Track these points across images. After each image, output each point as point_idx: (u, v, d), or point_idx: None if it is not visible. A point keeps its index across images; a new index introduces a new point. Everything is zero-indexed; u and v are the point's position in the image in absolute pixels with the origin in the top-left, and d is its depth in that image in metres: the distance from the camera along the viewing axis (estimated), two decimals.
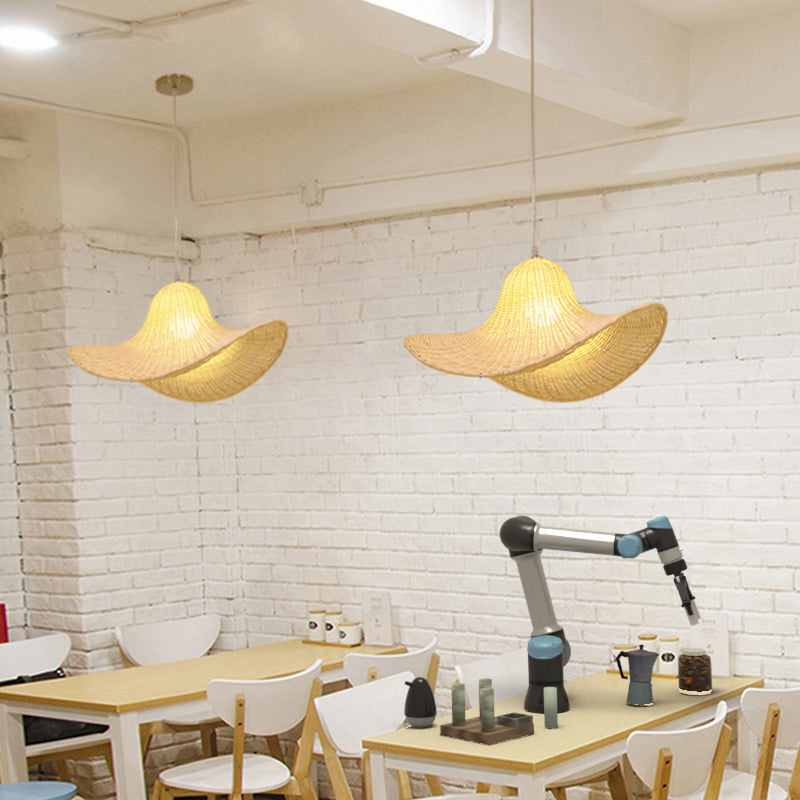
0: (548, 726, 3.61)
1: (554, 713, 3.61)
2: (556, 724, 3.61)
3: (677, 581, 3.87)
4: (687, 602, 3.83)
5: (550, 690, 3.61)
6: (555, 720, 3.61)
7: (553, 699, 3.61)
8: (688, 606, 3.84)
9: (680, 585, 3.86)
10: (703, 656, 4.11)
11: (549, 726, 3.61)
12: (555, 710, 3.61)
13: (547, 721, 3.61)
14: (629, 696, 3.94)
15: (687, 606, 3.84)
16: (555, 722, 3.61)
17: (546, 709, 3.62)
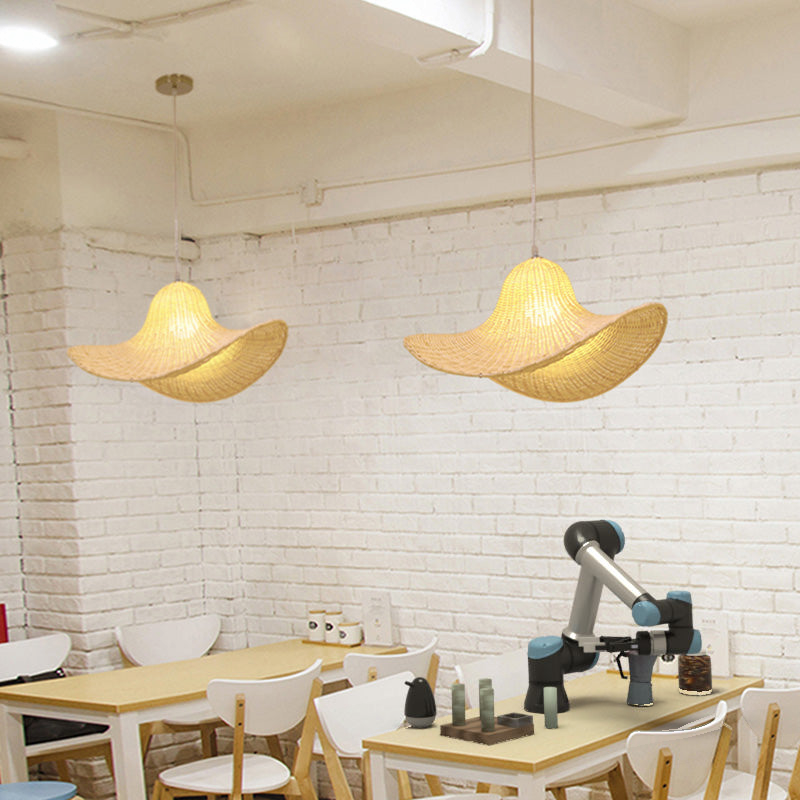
0: (548, 726, 3.61)
1: (554, 713, 3.61)
2: (556, 724, 3.61)
3: (633, 645, 3.57)
4: (611, 650, 3.54)
5: (550, 690, 3.61)
6: (555, 720, 3.61)
7: (553, 699, 3.61)
8: (605, 648, 3.55)
9: (628, 647, 3.56)
10: (703, 656, 4.11)
11: (549, 726, 3.61)
12: (555, 710, 3.61)
13: (547, 721, 3.61)
14: (629, 696, 3.94)
15: (605, 647, 3.55)
16: (555, 722, 3.61)
17: (546, 709, 3.62)
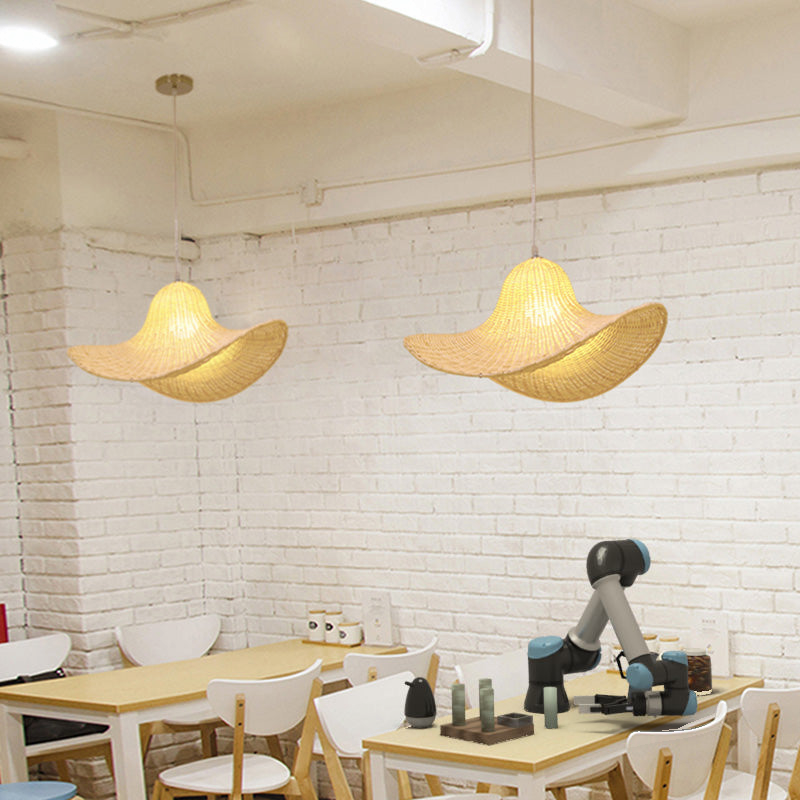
0: (548, 726, 3.61)
1: (554, 713, 3.61)
2: (556, 724, 3.61)
3: (628, 707, 3.55)
4: (606, 712, 3.52)
5: (550, 690, 3.61)
6: (555, 720, 3.61)
7: (553, 699, 3.61)
8: (600, 710, 3.54)
9: (623, 709, 3.54)
10: (703, 656, 4.11)
11: (549, 726, 3.61)
12: (555, 710, 3.61)
13: (547, 721, 3.61)
14: (629, 696, 3.94)
15: (600, 709, 3.54)
16: (555, 722, 3.61)
17: (546, 709, 3.62)
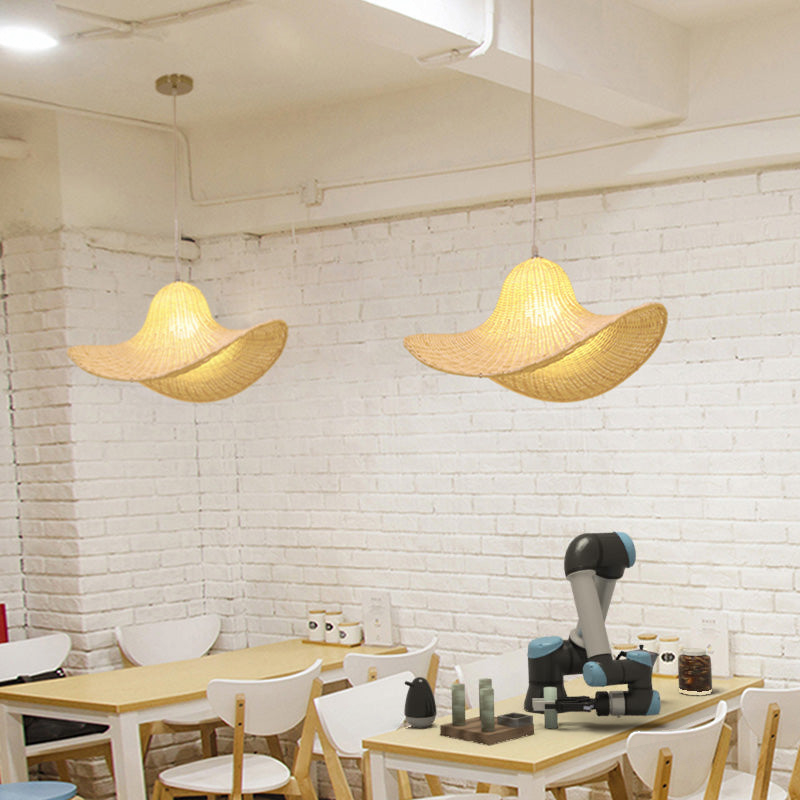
0: (548, 726, 3.61)
1: (554, 713, 3.61)
2: (556, 724, 3.61)
3: (585, 706, 3.56)
4: (559, 709, 3.57)
5: (550, 690, 3.61)
6: (555, 720, 3.61)
7: (553, 699, 3.61)
8: (554, 707, 3.59)
9: (579, 708, 3.57)
10: (703, 656, 4.11)
11: (549, 726, 3.61)
12: (555, 710, 3.61)
13: (547, 721, 3.61)
14: None
15: (555, 706, 3.59)
16: (555, 722, 3.61)
17: None
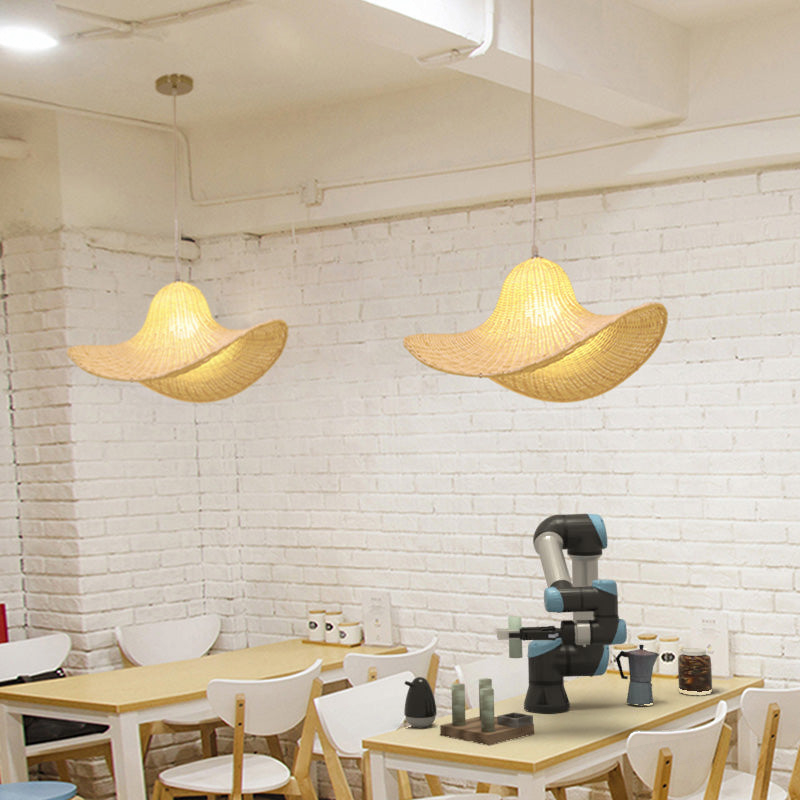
0: (512, 656, 3.54)
1: (518, 643, 3.54)
2: (521, 654, 3.54)
3: (549, 634, 3.49)
4: (523, 637, 3.50)
5: (514, 619, 3.54)
6: (520, 649, 3.54)
7: (517, 628, 3.54)
8: (518, 636, 3.52)
9: (544, 636, 3.50)
10: (703, 656, 4.11)
11: (513, 656, 3.53)
12: (520, 639, 3.54)
13: (512, 650, 3.54)
14: (629, 696, 3.94)
15: (519, 635, 3.52)
16: (520, 652, 3.54)
17: None
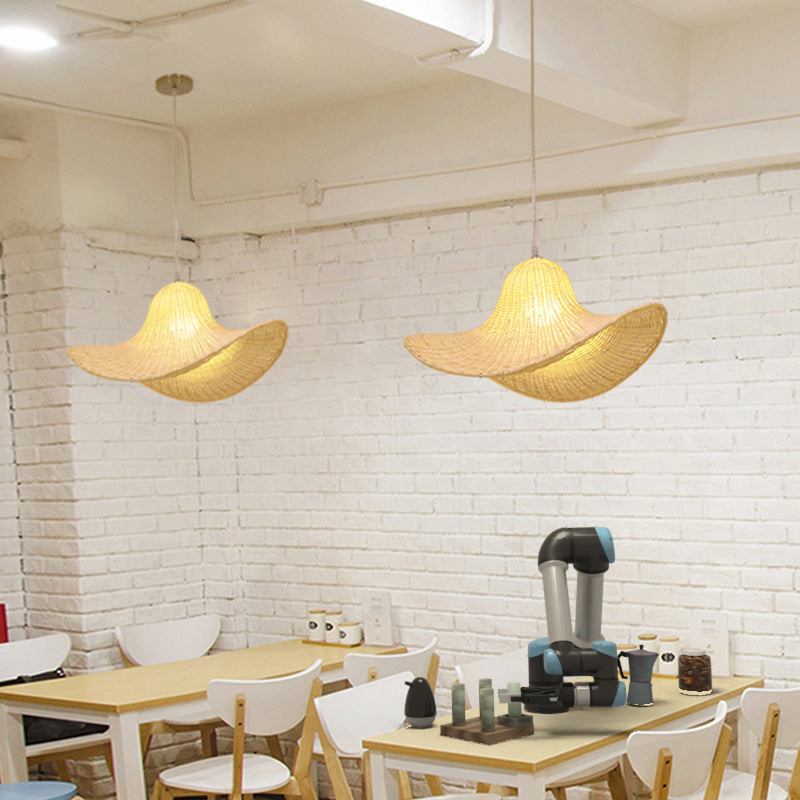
0: None
1: (518, 709, 3.53)
2: None
3: (551, 697, 3.48)
4: (525, 702, 3.47)
5: (513, 685, 3.53)
6: (519, 716, 3.53)
7: None
8: (520, 699, 3.49)
9: (546, 699, 3.48)
10: (703, 656, 4.11)
11: None
12: (519, 706, 3.53)
13: (511, 717, 3.53)
14: (629, 696, 3.94)
15: (521, 698, 3.49)
16: None
17: (510, 705, 3.53)
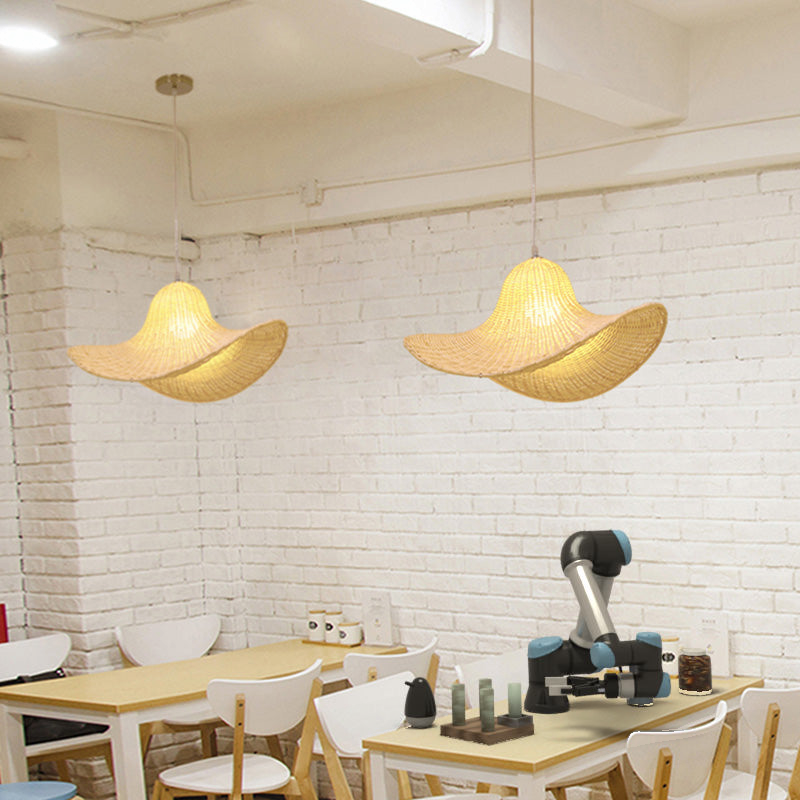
0: None
1: (518, 710, 3.52)
2: None
3: (599, 688, 3.46)
4: (576, 694, 3.44)
5: (514, 686, 3.53)
6: (519, 717, 3.53)
7: (517, 695, 3.53)
8: (571, 692, 3.45)
9: (595, 691, 3.46)
10: (703, 656, 4.11)
11: None
12: (519, 706, 3.53)
13: (511, 717, 3.53)
14: None
15: (571, 691, 3.45)
16: None
17: (510, 705, 3.53)
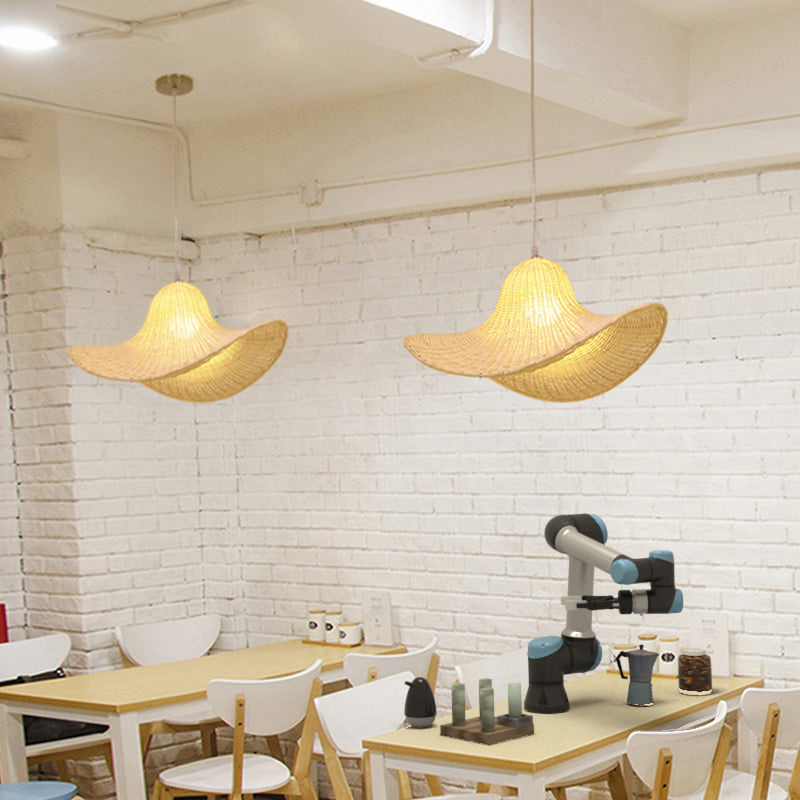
0: None
1: (518, 710, 3.52)
2: None
3: (614, 603, 3.57)
4: (592, 607, 3.54)
5: (514, 686, 3.53)
6: (519, 717, 3.53)
7: (517, 695, 3.53)
8: (586, 606, 3.56)
9: (609, 605, 3.57)
10: (703, 656, 4.11)
11: None
12: (519, 706, 3.53)
13: (511, 717, 3.53)
14: (629, 696, 3.94)
15: (587, 605, 3.56)
16: None
17: (510, 705, 3.53)
